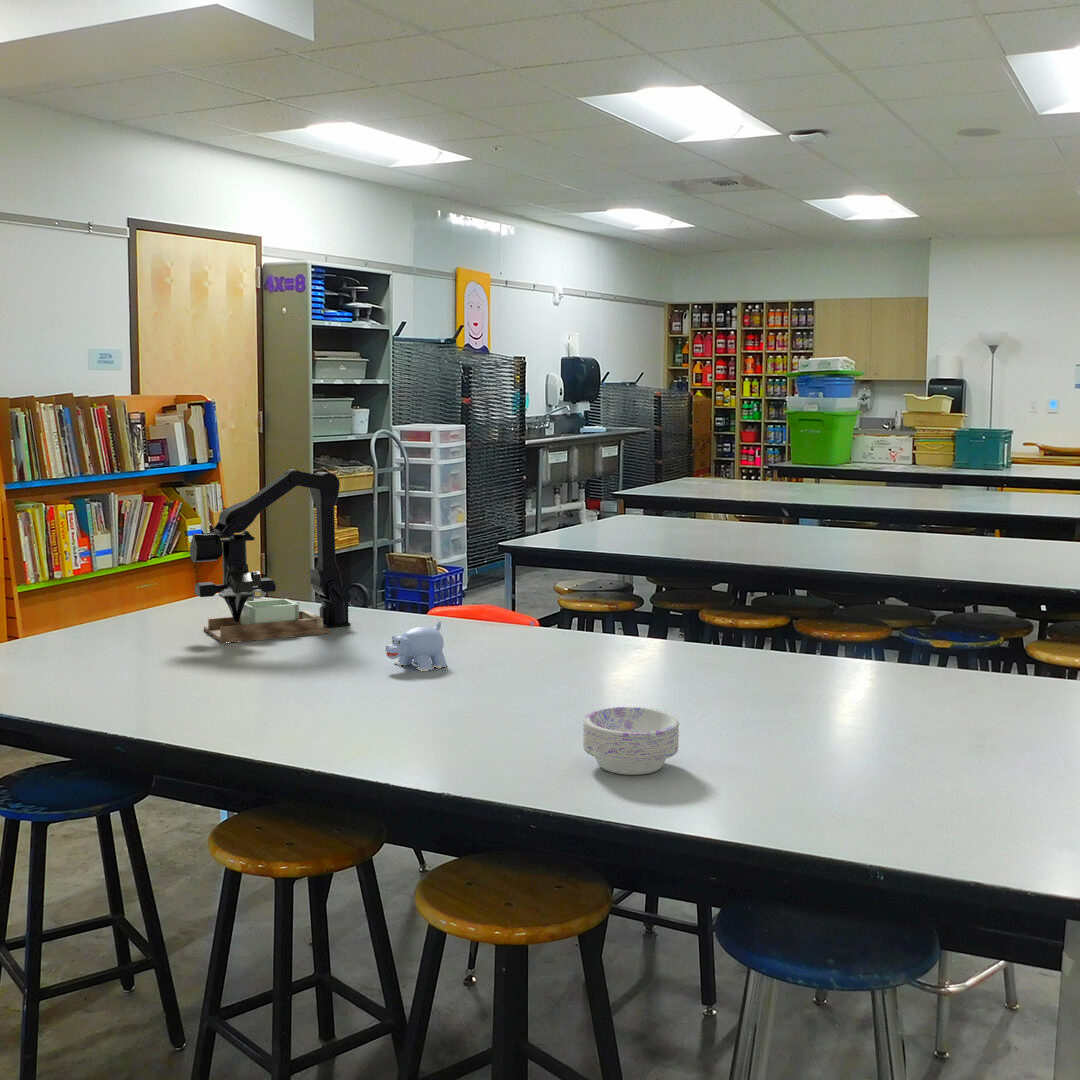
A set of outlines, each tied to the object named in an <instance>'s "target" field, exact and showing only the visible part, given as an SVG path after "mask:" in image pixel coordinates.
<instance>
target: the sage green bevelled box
mask: <svg viewBox="0 0 1080 1080" xmlns="http://www.w3.org/2000/svg"><path fill="white" fill-rule="evenodd" d="M299 608H300V607H299V603H297V602H295V601H293V600H290V599H288V598H275V599H273V598H272V599H264V600H263V599H262V600H254V601H248V602H245V604H244V607H243V609H242V613H241V616H240V625H244V624H256V623H267V622H278V621H290V620H299V611H300V609H299Z"/></svg>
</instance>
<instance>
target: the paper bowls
mask: <svg viewBox="0 0 1080 1080" xmlns="http://www.w3.org/2000/svg"><path fill="white" fill-rule="evenodd" d="M582 721H583V725H582V727H583V728H582V730H583V731H582V732H583V733H582V737H583V738H582V747H583V750H584V752H585V753H587V754H588V755H589V756H592V757H594V758H595V761H596V763H597V765H599V767H600V768H602V769H603V770H604V771H606V772H610V773H612V774H617V775H625V776H639V775H640V776H641V775H646V774H652V773H655V772H657V771H658V770H660V769H661V768H662V767H663V765H664V764H665V762H666V760H667V759H668V758H671V757H674V756H675V755H676V754H677V753H678V751H679V735H680V732H679V731H680V730H679V728H680V727H679V726H680V723H679V720H678V719H677V718H676V716H673V715H672V714H670V713H668V712H666V711H662V710H658V709H654V708H648V707H640V706H639V707H638V706H615V707H614V706H613V707H606V708H600V709H596V710H593V711H591V712H589V713H587V714H586V715H585V716H584V718H583V720H582Z"/></svg>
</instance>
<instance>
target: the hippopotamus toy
mask: <svg viewBox="0 0 1080 1080" xmlns="http://www.w3.org/2000/svg"><path fill="white" fill-rule="evenodd" d="M437 621H438V622H437V624H436V625H435V626H434V627H430V626H418V627H417V626H416V627H413V628H410V629H408V630H406V631H404V632H403V634H402V635H398V636H396V635H392V636H391V639H392V640H391V644H389V645H385V652H386V653H385V655H386V657H387V658H389V659H390V660H395V659H398V660H397V661H394V663H393V665H395V664H397V665H396V666H398V665H407V666H410V665H411V664H413V663H412V662H415V663H414V664H417V667H416V668H415V670H416V669H418V670H422V671H421V672H423V671H427V670H432V669H433V670H434V668H433V667H436V668H440V669H442V668H441V667H445V668H447V667H448V664H447V661H446V658H445V655H444V652H443V649H444V645H445V643H444V637H443V634H441V632H440V630H441V627H442V622H441V620H440V619H438V620H437ZM409 664H410V665H409ZM446 666H447V667H446ZM436 668H435V669H436ZM418 670H417V671H418ZM433 670H432V671H433ZM427 672H428V671H427Z"/></svg>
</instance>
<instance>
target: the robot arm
mask: <svg viewBox="0 0 1080 1080" xmlns="http://www.w3.org/2000/svg"><path fill="white" fill-rule="evenodd" d="M296 487H303V488H309V489H310V490H309V491H310V496H311V498H312V501H313V503H314V506H315V515H316V518H315V520H316V546H317V547H316V549H317V550H316V551H317V553H316V554H317V561H316V566H315V568H310V569H309V574H310V581H309V584H310V585H311V586H312V589H313V591H314V592H315V593H316V594H318V597H319V599H320V600H321V606H320V607H319V617H321V618H323V626H324V627H326V628H331V627H334V628H335V627H342V626H343V627H344V626H351V625H352V623H351V622H349V604H350V601H351V599H352V596H353V595H352V594H351V593H350V591H348V590H347V589H346V588H345V587H344V586H343V580H342V575H341V572H340V570H339V566H338V564H337V559H336V558H337V557H336V528H335V524H336V523H335V506H336V504H337V500H338V499H339V492H340V479H339V477H338V476H336V474H334V473H332V472H325V471H317V472H314V473H309V472H304V471H300V470H299V469H298V470H297V469H294V468H293V469H292V468H291V469H287V470H285V472H284V473H282V474H281V475H280V476H279V477H277V478H276V479H275V480H273V481H272V482H269V483H268V485H266V486H265V487H263V488H262V489H260V490H259V491H258V492H256V493H255V494H253V495H252V496H250V498H247V499H246V500H243V501H239V502H238V503H235V504H233V505H231V506H229V507H227V508H225V509H222V511H221V512H220V514H219V516H218V517H219V518H218V522H217V523H216V524H215V526H214V527H213V529H212V530H211V532H210V533H204V534H202V533H192V537H191V538H192V539H191V542H190V546H189V556H190V558H191V562H193V563H200V562H215V561H218V560H219V558H222V563H221V565H222V576H223V578H222V584H215V583H214V582H212V581H208V582H197V583H196V584H195V585H194V594H195V595H196V596H197V597H198V598H208V597H214V596H215V595H217V593H218V597H221V598H222V599H223V600H224V601H225V603H226V605H227V606H228V608H229V611H230V613H231V617H233V619H234V621H235V622H238V621H239V619H240V616H241V613H242V609H243V607H244V604H245V602H246V600H247V599H248V598H249V597H251V596H253V594H251V592H252V591H253V590H254V589H261V590H262V591H263V592H266V593H271V592H276V590H277V589H276V586H277V585H276V582H275V580H273V579H271V578H269V577H261V575H262V574H261V572H260V571H251V572H250V571H249V564H248V560H247V558H248V557H247V555H248V554H247V542H248V541H249V542H251V541H255V540H256V539H255V538H256V537H254V536H253V535H252V534H251V533H250V532H249V530H247V528H248V527H250V525H252V524H253V523H254V521H255V519H256V518H257V517H258V515H259V514H260V513H261V512H263V511H264V510H266V508H268V507H269V506H270V505H272V504H274V503H275V502H277V501H278V500H279V499H280V498H282V497H283V496H284V495H286V494H287V493H288V492H290V491H292V489H294V488H296ZM233 592H234V593H235V595H233Z"/></svg>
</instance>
